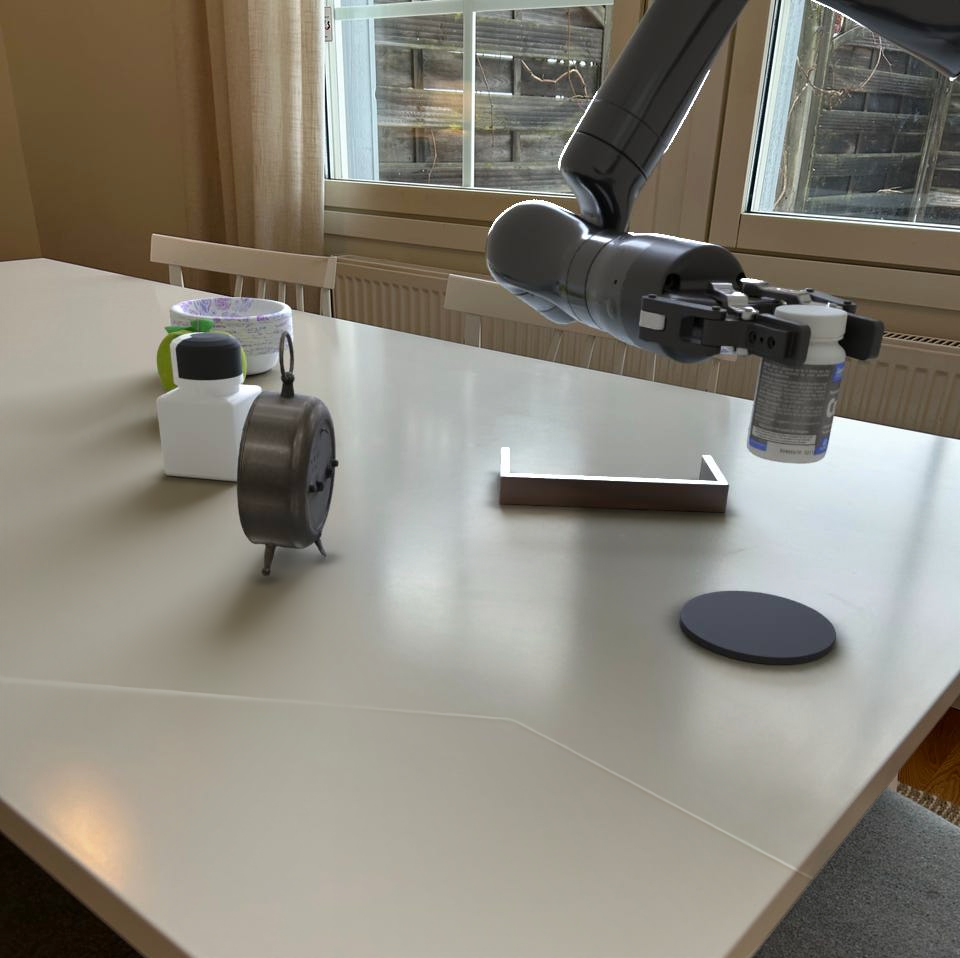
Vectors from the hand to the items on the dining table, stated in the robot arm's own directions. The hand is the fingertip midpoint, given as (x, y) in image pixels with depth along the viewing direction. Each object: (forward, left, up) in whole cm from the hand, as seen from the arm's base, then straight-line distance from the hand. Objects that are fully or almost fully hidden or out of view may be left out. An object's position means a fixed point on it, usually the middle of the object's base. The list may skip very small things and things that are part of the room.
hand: (840, 344), depth 54 cm
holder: (-16, -26, -19) cm, 36 cm away
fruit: (-3, -72, -19) cm, 75 cm away
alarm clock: (+14, -32, -19) cm, 40 cm away
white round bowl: (-18, -89, -19) cm, 93 cm away
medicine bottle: (+7, -54, -19) cm, 58 cm away
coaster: (-1, -2, -19) cm, 19 cm away
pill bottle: (-1, -3, -7) cm, 8 cm away
